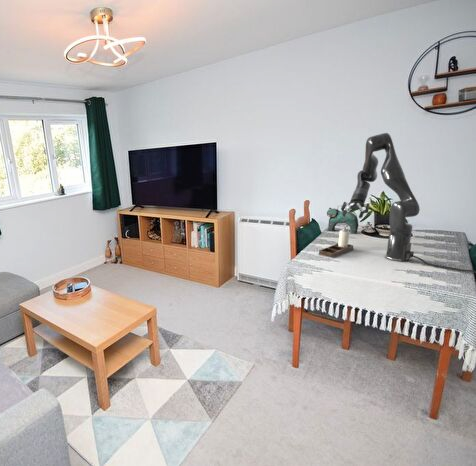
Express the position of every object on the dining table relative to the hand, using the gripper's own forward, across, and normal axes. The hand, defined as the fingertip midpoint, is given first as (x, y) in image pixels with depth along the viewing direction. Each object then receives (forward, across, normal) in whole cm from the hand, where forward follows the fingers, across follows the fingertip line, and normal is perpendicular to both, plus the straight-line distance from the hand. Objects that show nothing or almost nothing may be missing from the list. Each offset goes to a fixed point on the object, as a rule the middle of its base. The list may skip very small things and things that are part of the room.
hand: (351, 216), depth 198 cm
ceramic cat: (-8, -14, +35) cm, 38 cm away
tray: (+27, -1, 0) cm, 27 cm away
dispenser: (+21, 0, +5) cm, 22 cm away
